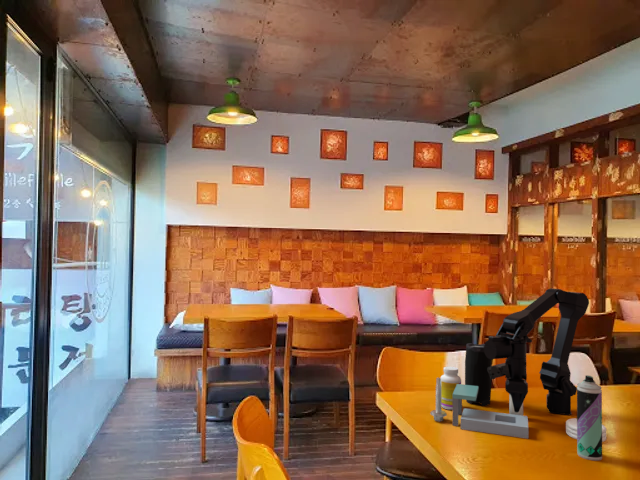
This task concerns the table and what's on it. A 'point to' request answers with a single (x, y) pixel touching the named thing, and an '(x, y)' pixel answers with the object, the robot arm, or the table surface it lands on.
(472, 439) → the table surface
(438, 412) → the screw
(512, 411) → the peg
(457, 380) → the supplement bottle
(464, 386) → the l-shaped bracket
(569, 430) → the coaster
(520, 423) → the socket board
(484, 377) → the portable speaker
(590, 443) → the spray can
